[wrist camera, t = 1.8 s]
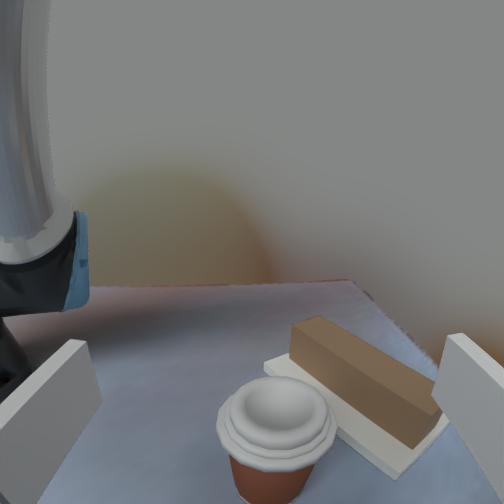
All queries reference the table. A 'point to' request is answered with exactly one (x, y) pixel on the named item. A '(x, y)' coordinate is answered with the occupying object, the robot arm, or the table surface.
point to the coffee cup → (275, 437)
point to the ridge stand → (365, 394)
